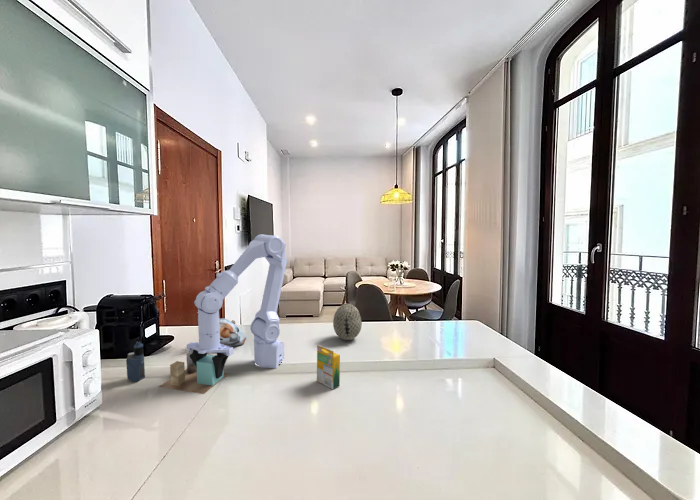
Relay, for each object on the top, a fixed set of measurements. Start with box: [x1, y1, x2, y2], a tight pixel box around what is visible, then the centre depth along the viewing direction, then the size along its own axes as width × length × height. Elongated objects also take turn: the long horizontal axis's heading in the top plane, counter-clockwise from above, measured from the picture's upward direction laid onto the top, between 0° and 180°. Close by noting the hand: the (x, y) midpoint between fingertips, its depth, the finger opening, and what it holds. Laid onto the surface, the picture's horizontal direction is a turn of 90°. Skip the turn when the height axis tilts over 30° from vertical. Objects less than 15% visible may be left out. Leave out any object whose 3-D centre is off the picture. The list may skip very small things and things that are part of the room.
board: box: [157, 368, 230, 395], centre depth 96 cm, size 15×12×1 cm
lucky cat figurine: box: [219, 317, 247, 347], centre depth 124 cm, size 15×12×14 cm
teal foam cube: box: [197, 353, 225, 387], centre depth 96 cm, size 5×5×7 cm
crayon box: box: [316, 344, 341, 390], centre depth 97 cm, size 7×3×12 cm, turn 47°
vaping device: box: [125, 341, 146, 383], centre depth 97 cm, size 3×5×12 cm, turn 78°
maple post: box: [169, 360, 186, 386], centre depth 94 cm, size 3×3×6 cm
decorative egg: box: [332, 303, 363, 341], centre depth 132 cm, size 12×12×15 cm
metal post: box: [186, 351, 197, 374], centre depth 101 cm, size 3×3×6 cm
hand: (210, 375), depth 96 cm, fingers closed on teal foam cube, 5 cm apart
